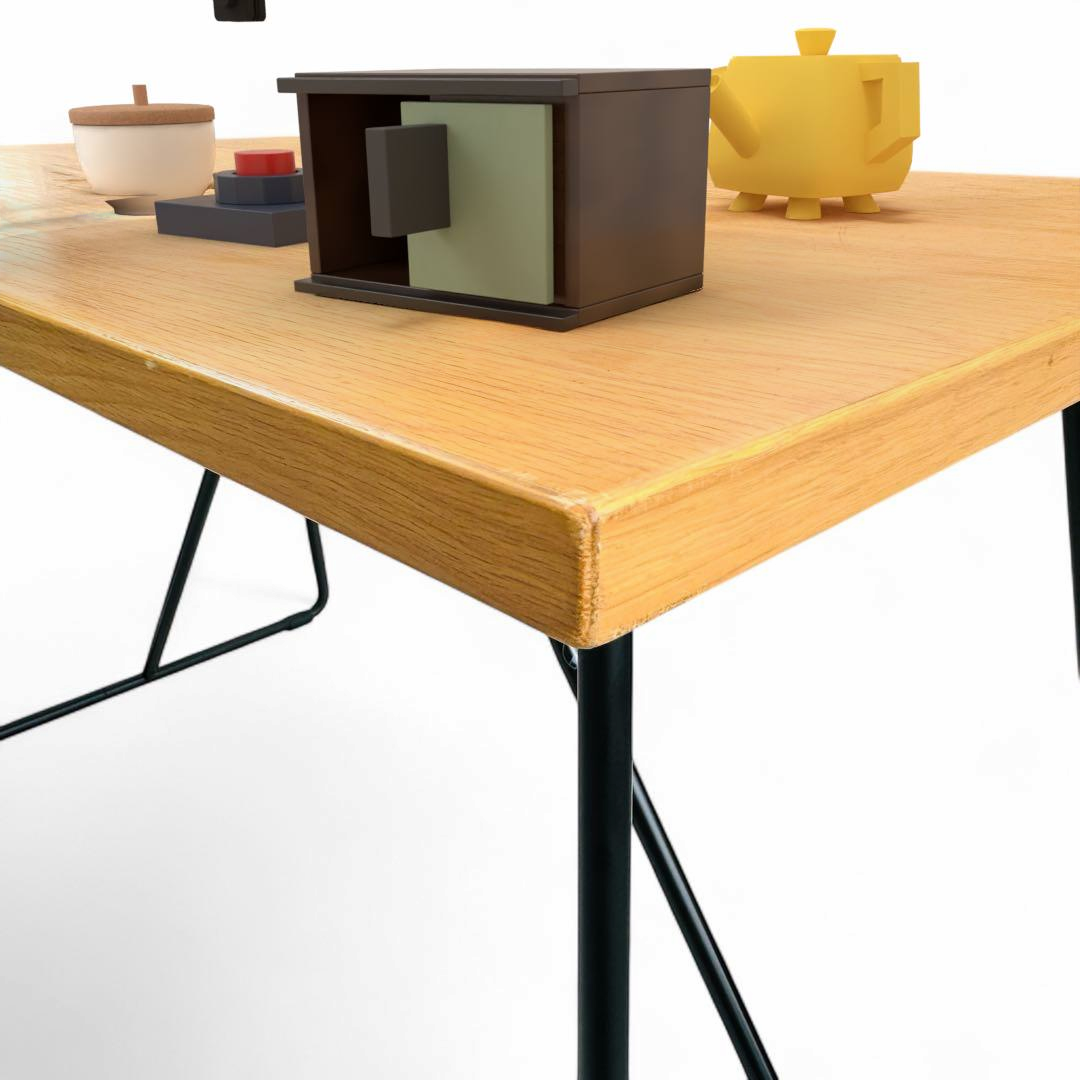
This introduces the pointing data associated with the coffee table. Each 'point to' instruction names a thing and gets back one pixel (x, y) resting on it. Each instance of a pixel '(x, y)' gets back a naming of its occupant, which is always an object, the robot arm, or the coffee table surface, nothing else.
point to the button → (265, 162)
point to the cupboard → (578, 185)
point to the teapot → (813, 126)
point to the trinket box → (145, 150)
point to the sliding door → (468, 196)
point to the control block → (241, 211)
